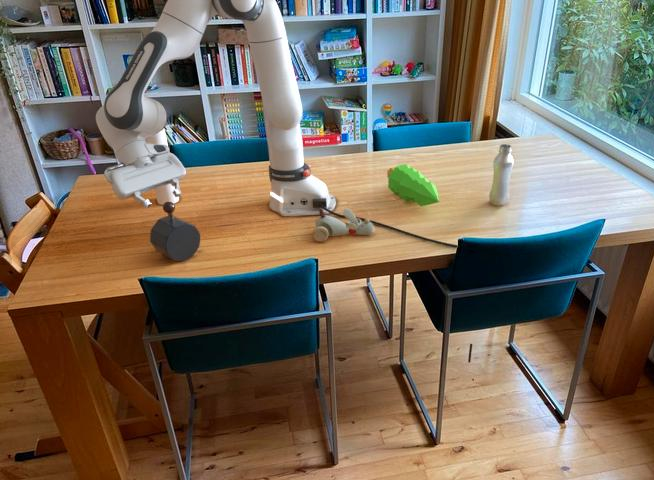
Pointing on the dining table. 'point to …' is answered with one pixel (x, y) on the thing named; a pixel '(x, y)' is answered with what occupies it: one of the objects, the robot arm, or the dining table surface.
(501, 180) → the plastic bottle
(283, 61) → the robot arm
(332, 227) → the toy dog
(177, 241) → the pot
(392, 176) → the decorative tree
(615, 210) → the dining table surface
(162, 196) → the cylindrical container
